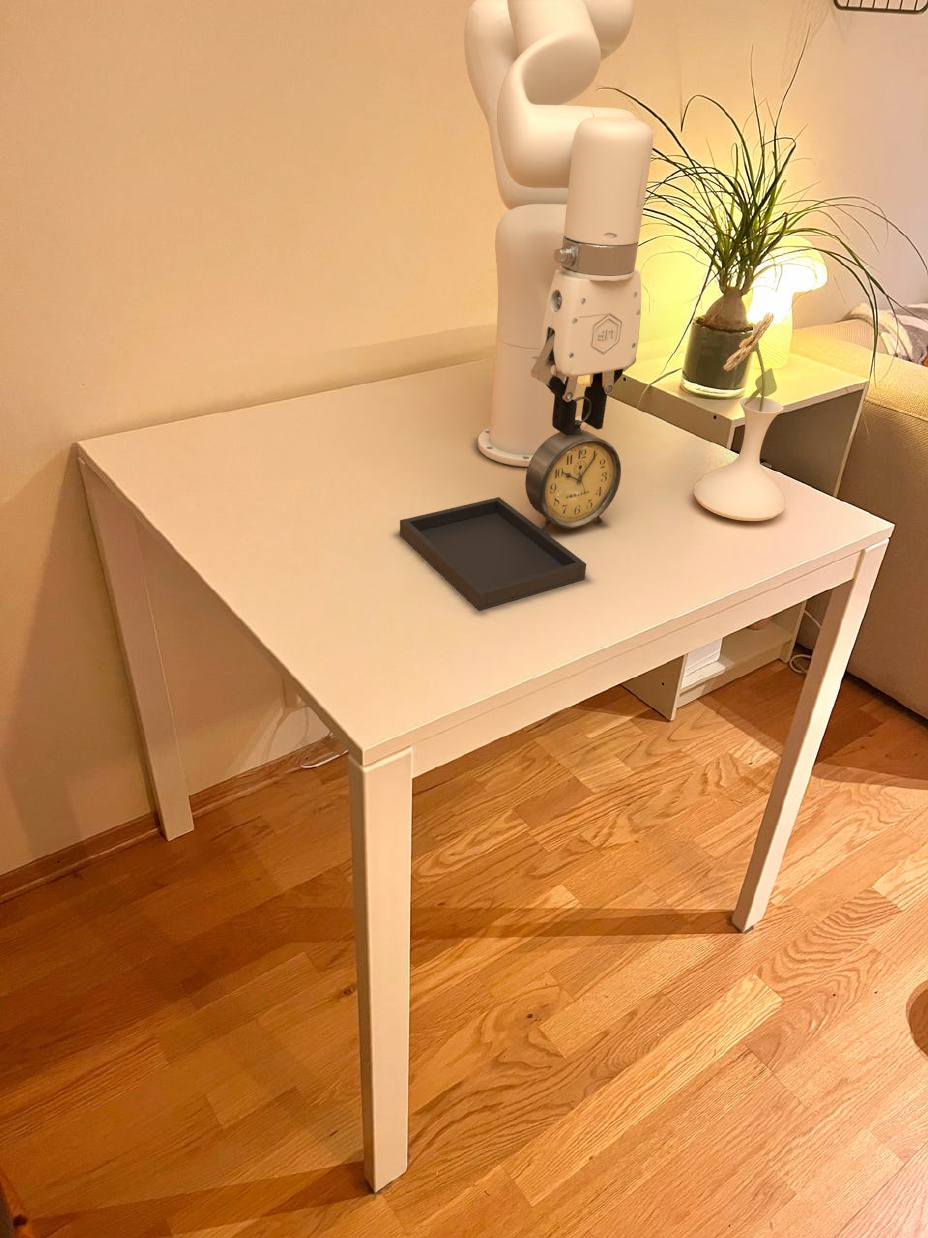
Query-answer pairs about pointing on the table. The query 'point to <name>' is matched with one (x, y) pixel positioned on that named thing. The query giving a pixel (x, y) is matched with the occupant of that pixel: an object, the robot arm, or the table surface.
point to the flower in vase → (747, 452)
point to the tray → (491, 552)
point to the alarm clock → (573, 477)
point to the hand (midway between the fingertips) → (577, 426)
